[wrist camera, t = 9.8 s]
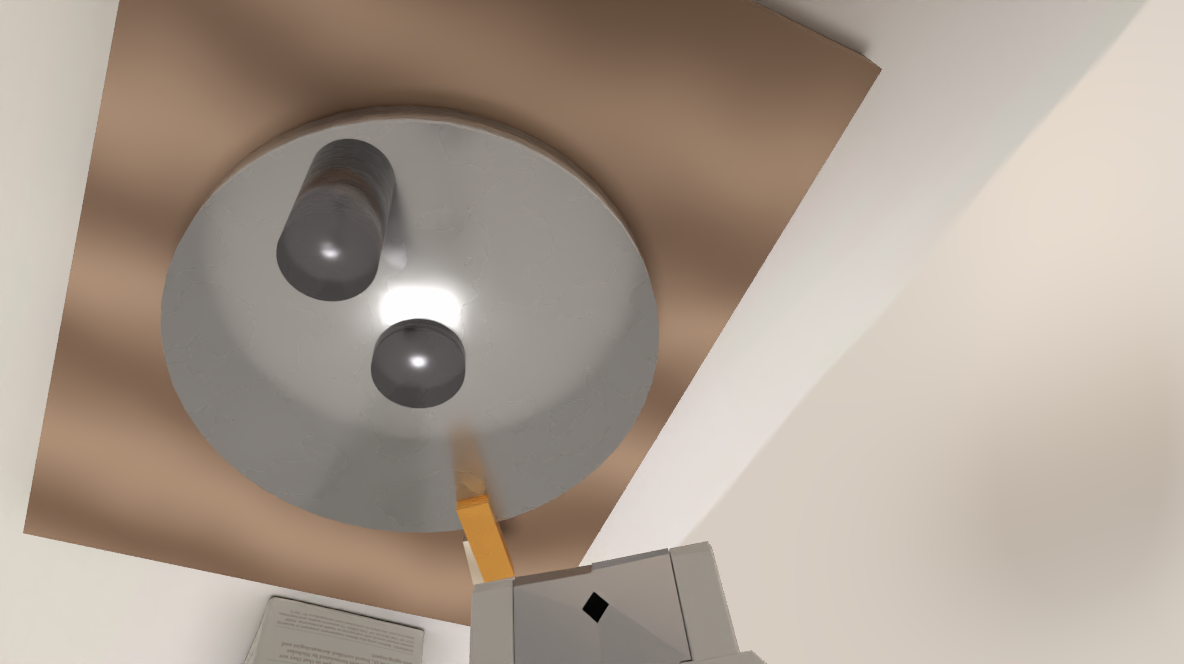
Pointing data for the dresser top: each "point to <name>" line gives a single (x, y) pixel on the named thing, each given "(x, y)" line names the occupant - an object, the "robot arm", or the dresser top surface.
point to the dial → (411, 322)
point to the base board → (433, 79)
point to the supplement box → (330, 637)
